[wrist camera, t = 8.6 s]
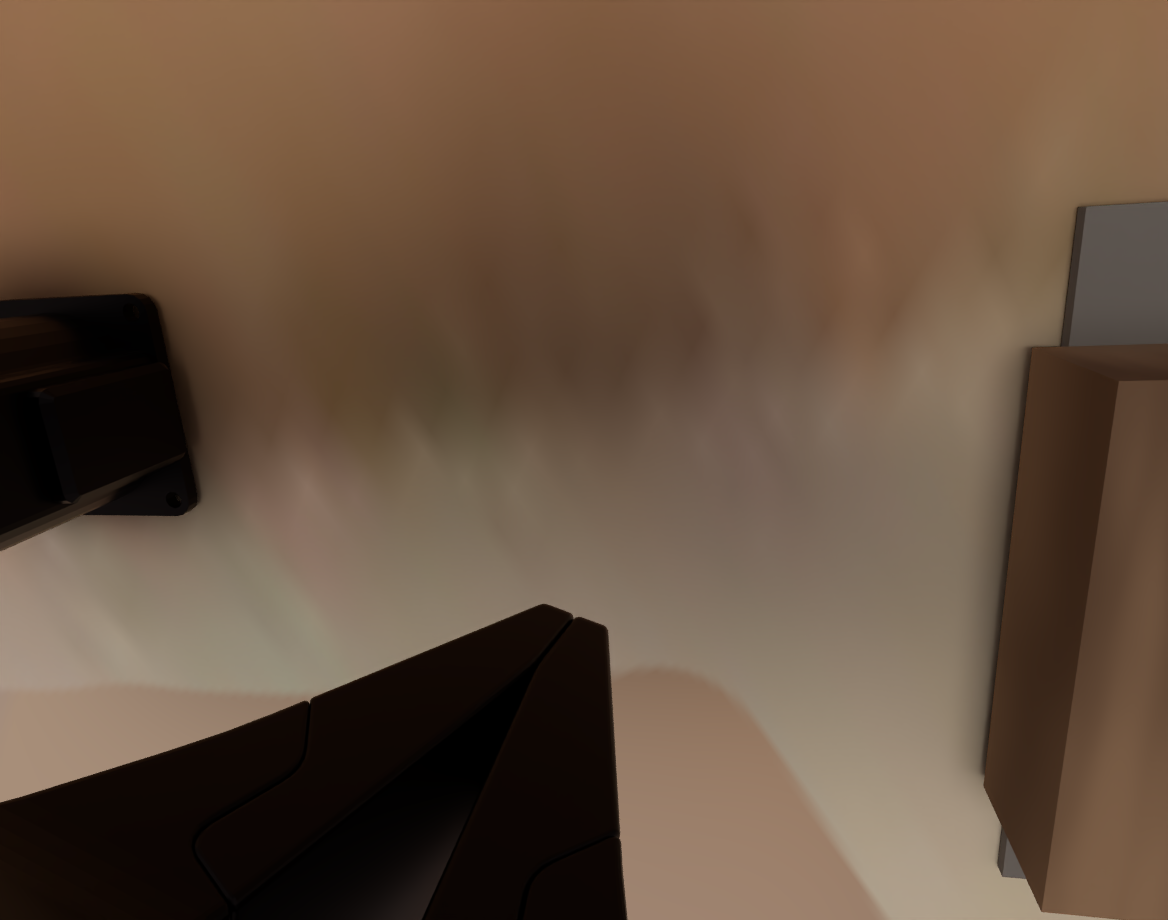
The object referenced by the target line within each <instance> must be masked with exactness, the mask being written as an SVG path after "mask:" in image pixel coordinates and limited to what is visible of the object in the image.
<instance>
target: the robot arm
mask: <svg viewBox="0 0 1168 920" xmlns="http://www.w3.org/2000/svg"><path fill="white" fill-rule="evenodd" d="M134 305H135V306H136V307H137V309H138V311H139V318H137V317H136V316H135V314H134V312H133V307H134ZM175 493H176V494H178V495H179V496H180V498H181V503H180V502H179V501H178V500H177V498H176V496H175ZM197 502H198V496H197V491H196V487H195V482H194V477H193V473H192V468H191V464H190V459H189V454H188V450H187V445H186V441H185V436H184V432H183V427H182V422H181V418H180V413H179V409H178V404H177V399H176V395H175V390H174V386H173V381H172V376H171V372H170V367H169V363H168V358H167V354H166V349H165V344H164V340H163V335H162V331H161V326H160V321H159V317H158V312H157V309H156V306H155V304H154V302H153V301H152V300H151V299H150V298H149V297H148V296H146V295H144V294H141V293H128V294H109V295H90V296H71V297H53V298H34V299H15V300H0V551H2V550H5V549H7V548H9V547H11V546H14V545H16V544H18V543H20V542H23V541H25V540H27V539H29V538H32V537H34V536H36V535H38V534H41V533H43V532H45V531H47V530H50V529H52V528H54V527H56V526H59V525H61V524H63V523H65V522H68V521H70V520H72V519H74V518H77V517H79V516H81V515H141V516H179V515H183V514H185V513H187V512H189V511H191V510H192V509H193V508H195V507H196V505H197ZM619 837H620V825H619V808H618V791H617V773H616V756H615V739H614V722H613V705H612V688H611V671H610V654H609V637H608V630H607V628H606V627H605V626H604V625H601V624H598V623H596V622H593V621H590V620H588V619H585V618H582V617H576V618H575V619H574V618H573V615H572V614H571V613H569V612H566V611H564V610H561V609H558V608H556V607H553V606H550V605H548V604H541V605H538V606H535V607H533V608H530V609H528V610H525V611H523V612H521V613H518V614H516V615H513V616H511V617H508V618H506V619H503V620H501V621H499V622H496V623H494V624H491V625H489V626H486V627H484V628H481V629H479V630H477V631H474V632H472V633H469V634H467V635H464V636H462V637H459V638H457V639H455V640H452V641H450V642H447V643H445V644H442V645H440V646H437V647H435V648H433V649H430V650H428V651H425V652H423V653H420V654H418V655H415V656H413V657H411V658H408V659H406V660H403V661H401V662H398V663H396V664H394V665H391V666H389V667H386V668H384V669H381V670H379V671H376V672H374V673H372V674H369V675H367V676H364V677H362V678H359V679H357V680H354V681H352V682H350V683H347V684H345V685H342V686H340V687H337V688H335V689H332V690H330V691H328V692H325V693H323V694H320V695H318V696H315V697H313V698H312V699H311V700H310V704H309V702H308V701H302V702H300V703H298V704H295V705H293V706H291V707H288V708H286V709H283V710H280V711H278V712H276V713H273V714H271V715H268V716H265V717H263V718H260V719H257V720H255V721H252V722H250V723H247V724H244V725H242V726H239V727H237V728H234V729H232V730H229V731H226V732H223V733H220V734H217V735H214V736H211V737H208V738H205V739H202V740H199V741H196V742H193V743H190V744H187V745H185V746H182V747H178V748H175V749H172V750H170V751H166V752H163V753H160V754H157V755H154V756H150V757H147V758H144V759H141V760H138V761H134V762H131V763H128V764H125V765H122V766H118V767H115V768H112V769H109V770H106V771H102V772H99V773H96V774H93V775H90V776H87V777H83V778H80V779H77V780H74V781H70V782H68V783H64V784H61V785H58V786H54V787H51V788H48V789H45V790H42V791H38V792H35V793H32V794H29V795H26V796H23V797H19V798H15V799H11V800H8V801H4V802H1V803H0V920H627V910H626V900H625V890H624V879H623V867H622V851H621V841H620V839H619Z"/></svg>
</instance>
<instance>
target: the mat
mask: <svg viewBox="0 0 1168 920" xmlns="http://www.w3.org/2000/svg"><path fill="white" fill-rule="evenodd" d="M1167 343H1168V202H1153V203H1137V204H1121V205H1104V206H1088V207H1078V212H1077V220H1076V229H1075V237H1074V245H1073V253H1072V261H1071V270H1070V278H1069V286H1068V294H1067V302H1066V310H1065V319H1064V327H1063V335H1062V343H1061V347H1068V346H1101V345H1134V344H1167ZM998 868H999V870H1000V872H1001V875H1002V877H1011V878H1022V879H1026V877H1025V875H1024V873H1023V871H1022V868H1021V866H1020V864H1019V862H1018V860H1017V858H1016V855H1015V853H1014V851H1013V849H1012V847H1011V845H1010V842H1009V840H1008V838H1007V836H1006V834H1005V832H1004V829H1003V827H1002V834H1001V842H1000V850H999V858H998Z"/></svg>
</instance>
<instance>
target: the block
mask: <svg viewBox="0 0 1168 920" xmlns="http://www.w3.org/2000/svg"><path fill="white" fill-rule="evenodd" d="M984 788H985V791H986V793H987V795H988V797H989V799H990V801H991V803H992V806H993V808H994V810H995V812H996V814H997V816H998V819H999V821H1000V823H1001V825H1002V827H1003V829H1004V832H1005V834H1006V836H1007V838H1008V840H1009V842H1010V845H1011V847H1012V849H1013V851H1014V853H1015V855H1016V858H1017V860H1018V862H1019V864H1020V866H1021V868H1022V871H1023V873H1024V875H1025V877H1026V879H1027V881H1028V884H1029V886H1030V888H1031V890H1032V892H1033V894H1034V897H1035V899H1036V901H1037V903H1038V905H1039V907H1040V910H1041V912H1048V913H1059V914H1069V915H1079V916H1089V917H1099V918H1109V919H1119V920H1168V343H1167V344H1134V345H1101V346H1068V347H1035V348H1032V355H1031V364H1030V373H1029V382H1028V391H1027V400H1026V409H1025V418H1024V427H1023V436H1022V445H1021V454H1020V463H1019V472H1018V481H1017V490H1016V499H1015V508H1014V517H1013V526H1012V535H1011V544H1010V553H1009V562H1008V571H1007V580H1006V589H1005V598H1004V607H1003V616H1002V625H1001V634H1000V643H999V652H998V661H997V670H996V679H995V688H994V697H993V706H992V715H991V724H990V733H989V742H988V751H987V760H986V769H985V778H984Z"/></svg>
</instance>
